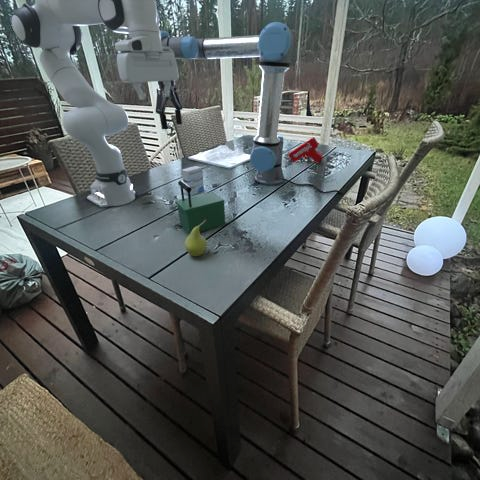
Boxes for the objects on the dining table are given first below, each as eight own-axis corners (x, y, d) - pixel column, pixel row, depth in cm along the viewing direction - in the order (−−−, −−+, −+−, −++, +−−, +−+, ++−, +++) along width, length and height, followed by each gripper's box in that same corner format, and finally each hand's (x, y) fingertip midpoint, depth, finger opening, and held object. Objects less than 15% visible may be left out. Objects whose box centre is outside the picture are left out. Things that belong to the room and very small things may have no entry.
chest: (189, 235, 98) (187, 212, 94) (180, 224, 105) (177, 203, 100) (225, 224, 105) (224, 202, 100) (214, 214, 112) (212, 194, 107)
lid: (185, 213, 93) (182, 189, 89) (175, 203, 100) (172, 181, 95) (224, 202, 100) (223, 180, 96) (212, 194, 107) (211, 173, 102)
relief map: (229, 168, 161) (229, 160, 158) (188, 158, 179) (187, 150, 176) (255, 158, 179) (255, 150, 177) (215, 150, 197) (215, 142, 194)
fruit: (184, 250, 90) (179, 218, 83) (206, 245, 92) (203, 214, 86) (188, 261, 85) (184, 228, 78) (211, 256, 87) (209, 223, 80)
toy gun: (326, 157, 168) (314, 136, 164) (326, 159, 164) (313, 137, 160) (301, 172, 178) (289, 153, 174) (300, 174, 174) (287, 154, 170)
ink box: (198, 188, 136) (196, 165, 129) (204, 191, 133) (202, 167, 126) (184, 193, 131) (181, 169, 124) (190, 196, 128) (187, 171, 121)
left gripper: (166, 47, 88) (172, 95, 96) (109, 44, 74) (121, 100, 82) (179, 46, 85) (185, 95, 92) (123, 42, 71) (134, 101, 78)
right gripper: (172, 74, 131) (178, 121, 142) (141, 76, 111) (150, 131, 122) (186, 74, 129) (191, 122, 140) (156, 76, 109) (165, 132, 120)
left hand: (155, 98), depth 87 cm, fingers open, 8 cm apart
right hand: (172, 126), depth 131 cm, fingers open, 13 cm apart
